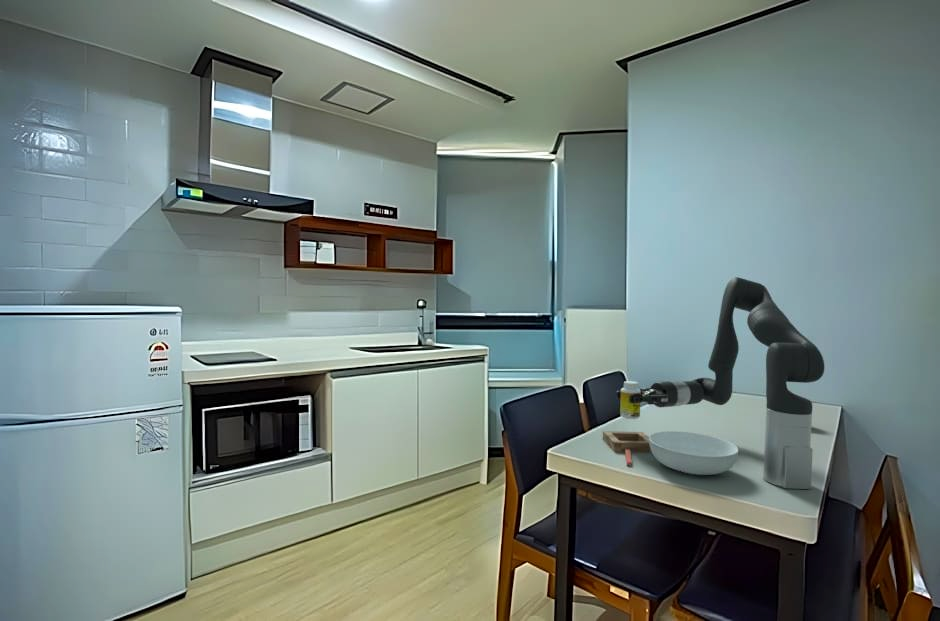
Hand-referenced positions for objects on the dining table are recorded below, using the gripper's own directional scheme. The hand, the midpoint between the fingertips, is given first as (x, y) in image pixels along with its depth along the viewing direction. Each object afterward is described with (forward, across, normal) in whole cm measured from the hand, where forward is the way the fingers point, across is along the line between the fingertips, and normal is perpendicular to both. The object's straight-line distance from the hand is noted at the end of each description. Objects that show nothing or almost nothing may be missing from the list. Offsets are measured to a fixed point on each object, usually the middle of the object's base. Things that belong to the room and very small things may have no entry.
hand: (623, 397), depth 147 cm
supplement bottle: (-3, 0, +6) cm, 7 cm away
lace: (+6, +11, +14) cm, 19 cm away
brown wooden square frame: (-2, 0, +14) cm, 14 cm away
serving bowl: (-5, +22, +15) cm, 26 cm away
